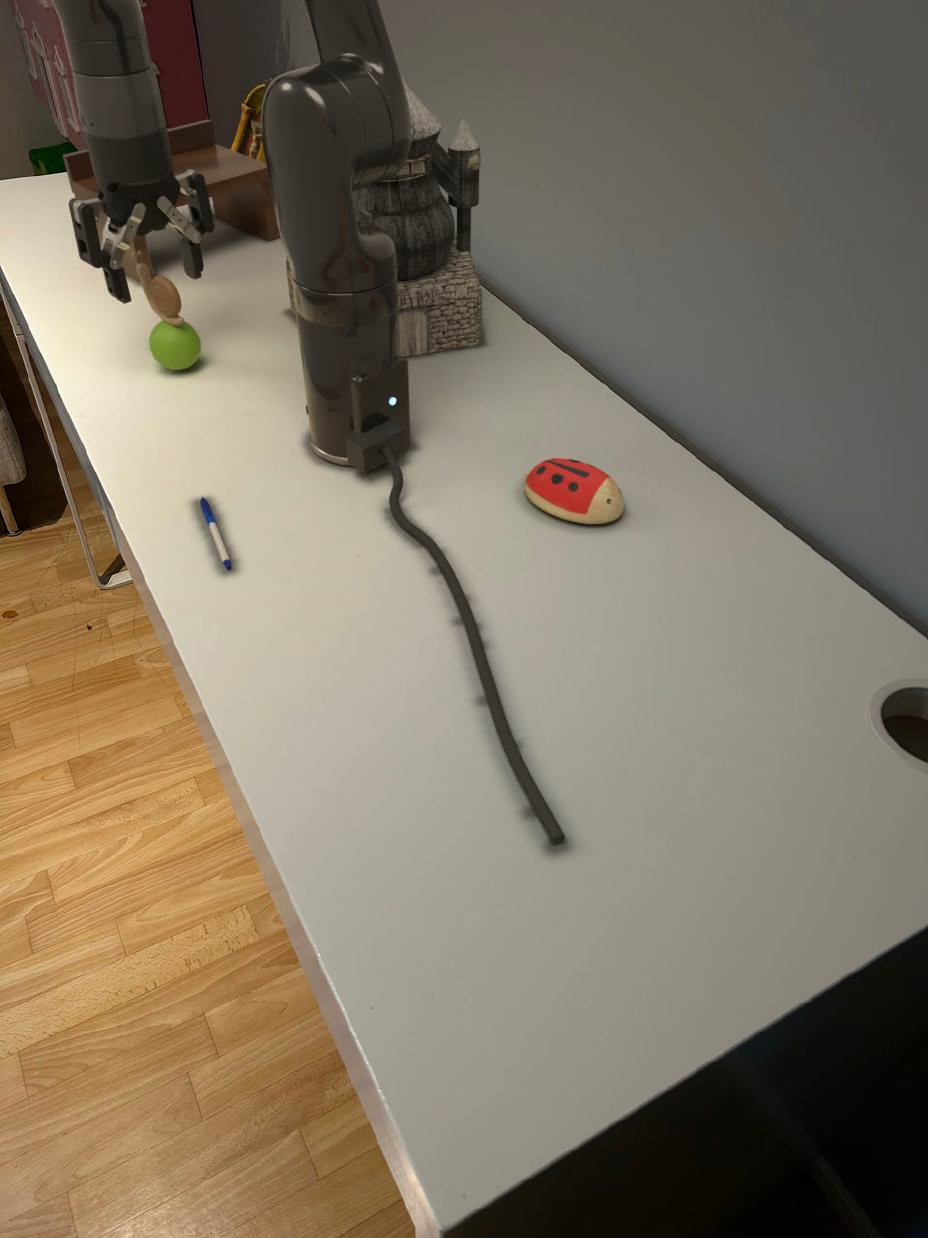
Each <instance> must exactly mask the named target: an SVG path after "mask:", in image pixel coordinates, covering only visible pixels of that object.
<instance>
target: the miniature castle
mask: <svg viewBox="0 0 928 1238" xmlns="http://www.w3.org/2000/svg"><path fill="white" fill-rule="evenodd" d="M402 74H403V73H401V76H402V79H403V83H404V87H405V91H406V95H407V99H408V104H409V110H410V117H411V127H412V135H411V146H410V151H409V154H408V157H407V160H406V162H405V163H404V165H403V167H402V168H401V169H400V170H399V171H398V172H397V173H395V174H394V175H392V176H391V177H389V178H387V179H384V180H382V181H379V182H377V183H373V184H371V185H369V186H366V187H363V188H361V189H358V190H355V191H353V192H352V193H353V202H354V208H355V215H356V221H358V222H363V223H367V224H371V225H374V226H376V227H379V228H381V229H383V230H385V231H386V232H387V233H388V234H389V235H390V236H391V237H392V238H393V240H394V243H395V247H396V255H397V287H398V314H399V336H400V356H402V357H404V358H406V357H411V356H412V357H413V356H420V355H426V354H428V355H429V354H432V353H439V352H445V351H453V350H457V349H458V350H459V349H465V348H471V347H477V346H480V345H481V344H482V328H483V327H482V325H483V324H482V322H483V321H482V320H483V291H482V285H481V282H480V279H479V278H480V277H479V275H478V272H477V269H476V266H475V262H474V258H473V255H472V250H471V249H472V208H474V207H477V206H478V205H479V204H480V168H481V165H482V163H481V162H482V155H481V152H480V151H481V145H480V143H478V141H477V140H476V138H475V137H474V135H473V133H472V131H471V129H470V126H469V123H468V120H467V118H466V115H463V116H462V118H461V121H460V123H459V126H458V128H457V131H456V133H455V135H454V137H453V138H452V139H451V141H450V142H449V143H448V144H447V151H446V149H444V147H443V146H441V144H440V143H439V142H438V140H439V137H440V134H441V131H442V123H441V121H440V120H439V119H438V118H437V117H436V116H435V115H434V114H433V113H432V112H431V111H430V110H429V109H428V108H427V107H426V105H424V103H423V102H422V101H421V100H420V99H419V98H418V96H417V95H416V94H415V93H414V92H413V91H412V89H411V88H410V87H409V86H408V85H407V83H406V81H405V79H404V77H403V75H402ZM441 188H442V190H444V191H445V193H447V199H446V197H445V196H444V194H443V193H442V190H441ZM452 207H453V208H456V227H455V218H454V213H453V210H452ZM285 259H286V260H285V269H286V271H285V272H286V278H287V287H288V293H289V295H288V296H289V303H290V309H291V310H290V311H291V314H292V315H293V316H294V317H295V318H296V310H295V300H294V292H293V283H292V274H291V267H290V261H289V258H288V255H287V254H286V258H285Z"/></svg>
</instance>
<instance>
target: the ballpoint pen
mask: <svg viewBox="0 0 928 1238" xmlns="http://www.w3.org/2000/svg"><path fill="white" fill-rule="evenodd" d="M199 503H200V508H201V510H202V513H203V517H204V519H205V522H206V523H207V527H209V530H210V533H211V535H212V538H213V540H214V542H215V546H216V548H217V552H218V554H219V556H220V559H221V561H222V564H223V565H224V567H225V568H226V570H231V569H232V563H231V559H230V556H229V553H228V551H227V549H226V546H225V544H224V541H223V538H222V536H221V534H220V531H219V528H218V526H217V521H216V519H215V516H214V514H213V511H212V508H211V506H210V504H209V502H208V500H207V499H206V498H205V497H204V496H201V498H200V499H199Z"/></svg>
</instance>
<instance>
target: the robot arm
mask: <svg viewBox="0 0 928 1238" xmlns="http://www.w3.org/2000/svg"><path fill="white" fill-rule="evenodd" d="M50 2H51V3H52V5H53V8H54V10H55V12H56V14H57V16H58V19H59V22H60V27H61V31H62V35H63V39H64V44H65V48H66V52H67V56H68V60H69V64H70V65H69V66H70V68H71V73H72V74H71V75H72V80H73V88H74V95H75V101H76V106H77V109H78V118H79V122H80V124H81V127H82V132H83V134H84V139H85V143H86V147H87V149H88V151H89V156H90V160H91V164H92V168H93V172H94V175H95V178H96V181H97V183H98V195H97V198H94V199H89V200H84V201H81V200H79V199H77V198H75V197H72V198H71V199H69V201H68V209H69V214H70V218H71V223H72V227H73V232H74V237H75V242H76V247H77V253H78V256H79V258H80V260H81V261H83V262H84V263H86V264H87V265H90V266H92V267H93V268H95V269H101V268H102V272H103V277H104V280H105V283H106V288H107V291H108V293H109V294H110V296H111V297H113V298H115V299H116V300H117V301H119V302H120V303H122V304H124V305H125V304H129V303H131V302H132V296H131V293H130V288H129V284H128V280H127V275H126V274H125V271H124V268H123V267H122V266H121V264H122V261H123V258H124V256H125V253H126V250H127V249H129V248H130V247H131V246H132V243H133V240H134V237H135V235H136V236H138V237H141V236H144V235H145V236H146V235H148V234H150V233H151V232H154V231H155V232H160V231H163V230H166V229H167V228H166V227H167V226H169V227H170V228H171V229H173V230H174V231H175V233H177V234H178V235H179V236H180V237H181V239H178V244H179V249H180V254H181V259H182V266H183V270H184V273H185V275H186V276H187V277H189V278H191V279H193V280H199V279H202V277H203V276H202V275H203V274H202V272H204V268H205V264H204V261H203V260H204V259H203V254H202V247H201V240H202V238H203V237H204V236H205V235H206V234H207V233H208V234H212V233H213V232H214V231H215V229H216V223H215V220H214V216H213V211H212V207H211V202H210V198H209V197H208V192H207V187H206V183H205V178H204V176H203V175H202V174H200V173H198V172H196V171H194V170H191V169H188V168H184V169H183V170H182V172H181V174H180V175H177V176H174V174H173V168H174V164H173V159H172V154H171V148H170V143H169V137H168V132H167V129H168V127H167V122H166V116H165V111H164V107H163V106H164V105H163V100H162V95H161V91H160V87H159V84H158V81H157V78H156V75H155V72H154V67H153V64H152V62H153V61H152V56H151V52H150V47H149V41H148V35H147V31H146V25H145V24H146V23H145V20H144V16H143V11H142V8H141V4H140V1H139V0H50ZM300 2H301V5H302V8H303V11H304V13H305V16H306V20H307V23H308V26H309V29H310V32H311V36H312V39H313V43H314V47H315V51H316V55H317V59H318V63H316V64H312V65H309V66H305V67H301V68H297V69H292V70H291V71H287V72H285V73H282V74H280V75H278V76H276V77H275V78H274V79H272V80H273V81H272V82H271V83H270V85H269V86H268V88H267V90H266V92H265V95H264V99H263V103H262V111H261V132H262V142H263V149H264V155H265V161H266V167H267V172H268V177H269V183H270V188H271V194H272V199H273V205H274V211H275V217H276V223H277V227H278V232H279V239H280V241H281V243H282V246H283V248H284V250H285V253H286V256H287V255H288V258H289V261H290V267H291V274H292V283H293V292H294V300H295V310H296V317H295V318H296V326H297V333H298V343H299V349H300V350H299V351H300V358H301V359H300V360H301V366H302V367H301V368H302V374H303V375H302V376H303V381H304V382H303V384H304V389H305V390H304V392H305V401H306V405H305V413H306V416H308V422H309V430H310V433H309V439H310V446H311V449H312V450H313V452H314V453H315V454H316V455H317V456H318V457H319V458H322V459H323V460H325V461H327V462H329V463H332V464H337V465H341V466H349V467H351V466H352V467H353V468H355V469H357V470H358V471H360V472H361V473H363V474H367V473H369V472H371V471H373V470H375V469H377V468H378V467H380V466H382V465H384V464H385V463H386V465H387V466H388V468H389V470H390V472H391V475H392V481H393V485H392V488H391V491H390V493H389V496H388V497H389V498H388V505H389V508H390V509H389V510H390V512H391V515H392V517H393V519H394V520H395V522H396V524H398V526H399V527H400V528H402V530H403V531H405V532H406V533H407V534H409V535H410V536H411V537H412V538H414V539H415V540H417V541H418V542H419V543H421V544H422V545H423V546H424V547H425V548H426V549H427V550H428V552H429V554H430V555H431V556H432V558H433V560H434V561H435V563H436V564H437V566H438V568H439V570H440V572H441V573H442V576H443V577H444V579H445V581H446V583H447V586H448V587H449V590H450V593H451V594H452V597H453V599H454V602H455V604H456V607H457V609H458V611H459V614H460V617H461V619H462V623H463V625H464V627H465V631H466V634H467V638H468V641H469V645H470V648H471V652H472V656H473V659H474V663H475V665H476V668H477V672H478V675H479V678H480V680H481V684H482V688H483V691H484V694H485V697H486V701H487V704H488V707H489V711H490V714H491V717H492V720H493V723H494V726H495V729H496V732H497V735H498V737H499V740H500V743H501V745H502V747H503V750H504V753H505V756H506V757H507V759H508V762H509V764H510V766H511V768H512V770H513V772H514V774H515V776H516V779H517V780H518V783H519V785H520V786H521V788H522V790H523V792H524V793H525V795H526V797H527V799H528V801H529V803H530V804H531V805H530V806H532V808H533V810H534V811H535V814H536V815H537V817H538V819H539V821H540V823H541V825H542V827H543V829H544V830H545V832H546V834H547V836H548V837H549V839H550V841H551V843H552V844H553V845H555V844H559V843H561V842H563V841H564V840H565V837H566V836H565V834H564V832H563V830H562V828H561V826H560V824H559V823H558V821H557V819H556V817H555V815H554V814H553V811H552V810H551V808H550V806H549V805H548V802H547V801H546V800H545V797H544V796H543V794H542V792H541V790H540V789H539V786H538V785H537V784H536V781H535V780H534V778H533V776H532V774H531V772H530V770H529V768H528V766H527V765H526V762H525V760H524V758H523V756H522V754H521V751H520V749H519V747H518V745H517V742H516V740H515V738H514V735H513V733H512V729H511V728H510V725H509V722H508V719H507V717H506V713H505V711H504V708H503V704H502V701H501V697H500V694H499V691H498V688H497V685H496V682H495V679H494V675H493V673H492V669H491V666H490V664H489V661H488V657H487V654H486V650H485V647H484V645H483V641H482V637H481V635H480V631H479V628H478V625H477V622H476V619H475V616H474V614H473V611H472V609H471V606H470V604H469V601H468V599H467V596H466V594H465V592H464V589H463V588H462V585H461V584H460V581H459V579H458V577H457V575H456V573H455V571H454V569H453V567H452V565H451V564H450V562H449V561H448V559H447V557H446V555H445V554H444V552H443V551H442V549H441V548H440V546H439V545H438V544H437V543H436V541H435V540H434V539H433V538H432V537H431V536H430V535H428V533H426V532H424V531H423V530H422V529H421V528H419V527H418V526H416V525H415V524H414V523H412V522H411V521H409V519H408V518H407V517H406V516H405V513H403V510H402V507H401V503H400V496H401V493H402V490H403V487H404V475H403V471H402V468H401V465H400V464H399V461H398V460H397V457H398V456H400V455H402V454H404V453H406V452H407V451H408V448H411V446H412V437H411V436H412V435H411V414H410V413H411V409H410V408H411V406H410V405H411V404H410V383H409V382H410V381H409V361H408V359H407V358H406V357H402V356H400V336H399V314H398V287H397V255H396V247H395V243H394V240H393V238H392V237H391V236H390V235H389V234H388V233H387V232H386V231H385V230H383V229H381V228H379V227H376V226H374V225H371V224H367V223H363V222H358V221H356V215H355V208H354V202H353V193H352V192H353V191H355V190H358V189H361V188H363V187H366V186H369V185H371V184H373V183H377V182H379V181H382V180H384V179H387V178H389V177H391V176H392V175H394V174H395V173H397V172H398V171H399V170H400V169H401V168H402V167H403V165H404V163H405V162H406V160H407V157H408V154H409V151H410V146H411V135H412V127H411V117H410V110H409V104H408V99H407V95H406V91H405V87H404V83H403V79H404V78H403V79H402V77H403V75H402V76H401V74H402V73H401V69H400V66H399V62H398V59H397V57H396V52H395V49H394V45H393V42H392V40H391V36H390V33H389V29H388V26H387V22H386V20H385V16H384V13H383V10H382V7H381V6H382V5H381V3H380V0H300ZM180 189H181V191H182V193H183V194H185V195H186V199H187V203H188V204H187V206H188V207H187V208H188V211H189V215H190V219H191V221H190V220H189V219H188V218H187V217H186V216H185V215H184V214H183V212H181V211H179V209H177V208H175V205H176V202H177V199H178V196H179V194H180ZM102 211H103V212H104V213H105V214H106V215H107V216H108V218H107V221H106V223H105V226H104V229H103V232H102V235H103V241H102V243H101V246H100V241H99V236H98V231H97V225H96V224H98V223H99V222H100V219H99V215H100V213H101V212H102ZM119 227H120V228H121V229H122V231H121V233H120V234H119V235H118V230H119Z"/></svg>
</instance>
